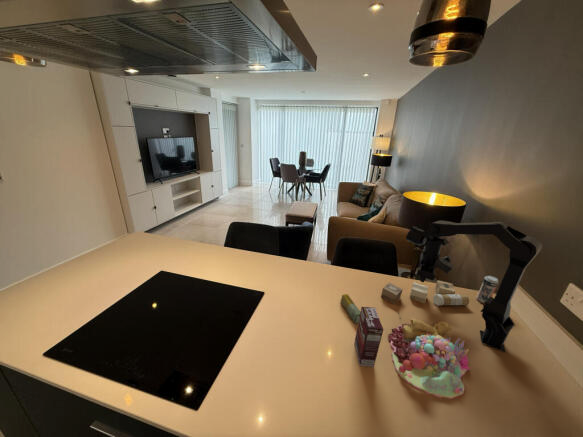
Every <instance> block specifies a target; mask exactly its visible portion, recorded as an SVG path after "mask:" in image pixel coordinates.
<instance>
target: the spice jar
mask: <svg viewBox="0 0 583 437" xmlns="http://www.w3.org/2000/svg"><path fill="white" fill-rule="evenodd" d="M498 284H499V280H498V278H497V277H496V276H492V275H486V276H484V278H483V281H482V284H481V286H480V289H479V290H478V293H477V295H476V297H475V298H476V299H477V301H479V302H480V303H483V304H484V302H485V301H486V300H487V299H488V298H490V297H493V295H494V293H495V291H496V289H497V286H498Z"/></svg>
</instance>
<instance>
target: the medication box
mask: <svg viewBox="0 0 583 437" xmlns="http://www.w3.org/2000/svg"><path fill="white" fill-rule="evenodd" d="M339 302H340V303H341V306H342V307H343V308H344V310H345V311H346V313H347V315H348V316H349V317H350V319H351V320H352V322H353V324H355V325H358V322H359V317H360V311H361V309H359V307H358V306H357V305H356V303H355V302H354V301H353V300H352V298H351V296H350V295H349V294H348V293H347V294H346V293H344V294H343V293H342V295H341V299H340V301H339Z"/></svg>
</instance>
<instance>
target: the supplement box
mask: <svg viewBox="0 0 583 437" xmlns="http://www.w3.org/2000/svg"><path fill="white" fill-rule="evenodd" d="M377 311H378V310H377V309H376V307H371V306H361V307H360V317H359V322H358V323H357V327H356V333H355V337H354V343H353V344H354V347H355V351H356V355H357V361H358V365H359V366H362V367H375V365H376V361H377V360H376V359H377V356H378V352H379V347H380V345H381V341H382V337H383V333H384V328H383V325H382V322H381V320H380V318H379V317H380V316H379V315H378V312H377Z"/></svg>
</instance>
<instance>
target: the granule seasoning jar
mask: <svg viewBox="0 0 583 437" xmlns="http://www.w3.org/2000/svg"><path fill="white" fill-rule="evenodd" d="M432 299H433V300H432V301H433V303H434V304H435V305H436V306H440V307H441V306H467V305H469V303H470V299H469V297H468V295H467V294H458V293H457V294H456V293H455V294H446V295H441V294H436V293H435V294H434V295H433V297H432Z"/></svg>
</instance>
